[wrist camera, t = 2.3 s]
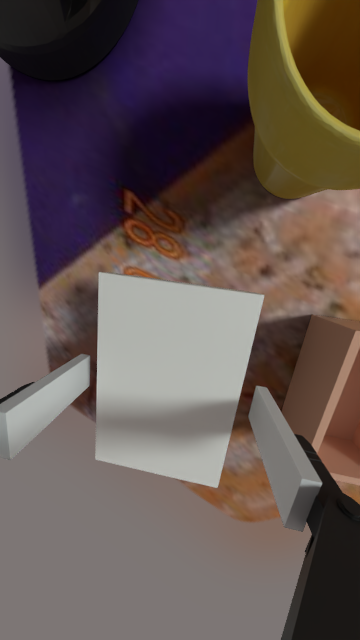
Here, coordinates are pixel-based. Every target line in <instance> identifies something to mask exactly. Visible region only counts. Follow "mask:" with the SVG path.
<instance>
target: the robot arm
mask: <svg viewBox="0 0 360 640" xmlns="http://www.w3.org/2000/svg"><path fill="white" fill-rule="evenodd" d="M137 3H138V0H0V57H1V58H2V59H3V60H4V61H5V62H6V63H8V64H9V65H10V66H12V67H13V68H15V69H16V70H18V71H20V72H22V73H24V74H26V75H28V76H31V77H34V78H38V79H43V80H63V79H68V78H71V77H74V76H77V75H79V74H82V73H84V72H85V71H87V70H89V69H90V68H92V67H93V66H95V65H96V64H97V63H98V62H100V61H101V60H102V59H103V58H104V57H105V56H106V55H107V54H108V53H109V52H110V51H111V49H112V48H113V47H114V46H115V44H116V43H117V42H118V40H119V39H120V37H121V36H122V34H123V32H124V31H125V29H126V27H127V25H128V23H129V21H130V19H131V17H132V15H133V13H134V10H135V8H136V5H137ZM89 386H90V355H85V354H80V355H79V356H77V357H75V358H74V359H72V360H71V361H69V362H67V363H66V364H64V365H62V366H61V367H59V368H58V369H56V370H54V371H53V372H51V373H50V374H48V375H46V376H45V377H43V378H42V379H40V380H38V381H37V382H32V383H29V384H26V385H24V386H22V387H20V388H18V389H17V390H15V391H14V392H12V393H10V394H8V395H7V396H5V397H3V398H2V399H0V458H3V459H8V460H11V459H12V458H13V457H15V456H16V454H18V452H20V451H21V450H22V449H23V448H24V447H25V446H26V445H27V444H28V443H29V442H30V441H31V440H33V439H34V438H35V437H36V436H37V435H38V434H39V433H40V432H41V431H42V430H43V429H44V428H45V427H46V426H47V425H48V424H49V423H51V422H52V420H54V419H55V418H56V417H57V416H58V415H59V414H60V413H61V412H62V411H63V410H64V409H65V408H66V407H67V406H69V405H70V404H71V403H72V402H73V401H74V400H75V399H76V398H77V397H78V396H79V395H80V394H81V393H82V392H83V391H84V390H86V389H87V388H88V387H89ZM248 417H249V421H250V424H251V427H252V430H253V433H254V436H255V439H256V442H257V445H258V448H259V451H260V454H261V457H262V461H263V464H264V467H265V470H266V473H267V476H268V479H269V482H270V485H271V488H272V491H273V494H274V497H275V501H276V504H277V507H278V510H279V513H280V516H281V519H282V522H283V525H284V527H285V528H289V529H293V530H298V531H301V532H303V530H304V527H305V525H306V522H307V523H308V526H309V528H310V530H311V533H312V536H311V538H310V540H309V543H308V545H307V548H306V550H305V552H306V555H305V558H304V561H303V565H302V569H301V572H300V575H299V579H298V583H297V586H296V589H295V593H294V596H293V599H292V603H291V606H290V610H289V613H288V617H287V620H286V624H285V627H284V631H283V634H282V637H281V640H360V505H359V504H358V503H357V502H356V501H355V500H353V499H352V498H351V497H349V496H347V495H345V494H344V493H342V491H341V490H340V488H339V486H338V485H337V483H336V482H335V480H334V479H333V477H332V476H331V474H330V473H329V471H328V470H327V468H326V466H325V465H324V463H322V460H321V459H320V457H319V456H318V455H317V453H316V451H315V450H314V448H313V446H312V445H311V444H310V443H309V442H308V441H307V440H306V439H305V438H304V437H303V436H302V435H298V434H294V433H293V432H292V430H291V428H290V426H289V425H288V423H287V421H286V420H285V418H284V416H283V414H282V413H281V411H280V409H279V408H278V406H277V404H276V402H275V401H274V399H273V397H272V396H271V394H270V392H269V390H268V389H267V387H261V386H256V389H255V392H254V396H253V400H252V404H251V408H250V412H249V416H248Z"/></svg>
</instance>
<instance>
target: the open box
mask: <svg viewBox="0 0 360 640" xmlns="http://www.w3.org/2000/svg"><path fill="white" fill-rule="evenodd" d="M281 413H282V414H283V416H284V418H285V420H286V421H287V423H288V425H289V426H290V428H291V430H292V432H293V433H294V434H298V435H302V436H303V437H304V438H305V439H306V440H307V441H308V442H309V443H310V444H311V445H312V446H313V448H314V450H315V451H316V453H317V455H318V456H319V457H320V459H321V460H322V463H324V465H325V466H326V468H327V470H328V471H329V473H330V474H331V476H332V477H333V479H334V480H338V481H342V482H347V483H351V484H356V485H360V321H354V320H347V319H340V318H333V317H326V316H319V315H312V316H311V319H310V322H309V325H308V328H307V332H306V335H305V338H304V341H303V344H302V347H301V351H300V354H299V357H298V360H297V363H296V366H295V370H294V373H293V376H292V379H291V382H290V385H289V389H288V392H287V395H286V398H285V401H284V404H283V408H282V411H281Z"/></svg>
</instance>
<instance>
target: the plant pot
mask: <svg viewBox="0 0 360 640" xmlns="http://www.w3.org/2000/svg"><path fill="white" fill-rule="evenodd" d="M248 94H249V103H250V109H251V114H252V118H253V121H254V125H255V135H254V149H253V163H254V169H255V172H256V175H257V178H258V180H259V181H260V183H261V184H262V186H263V187H264V188H265V189H266V190H267V191H269V192H270V193H272V194H273V195H275V196H277V197H281V198H285V199H295V198H301V197H305V196H308V195H311V194H314V193H317V192H320V191H323V190H326V189H332V190H352V189H360V0H258V2H257V8H256V13H255V19H254V25H253V31H252V38H251V44H250V52H249V62H248Z"/></svg>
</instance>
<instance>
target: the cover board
mask: <svg viewBox="0 0 360 640" xmlns="http://www.w3.org/2000/svg"><path fill="white" fill-rule="evenodd" d="M263 299H264V295H262V294H259V293H255V292H248V291H241V290H234V289H226V288H219V287H212V286H205V285H197V284H190V283H183V282H176V281H168V280H161V279H154V278H147V277H140V276H132V275H125V274H118V273H111V272H99V289H98V345H97V401H96V458H95V459H96V460H100V461H104V462H109V463H113V464H117V465H121V466H126V467H130V468H134V469H139V470H143V471H148V472H151V473H156V474H160V475H164V476H168V477H173V478H177V479H181V480H186V481H190V482H194V483H198V484H203V485H207V486H211V487H215V488H218V484H219V480H220V476H221V472H222V468H223V464H224V459H225V455H226V451H227V447H228V443H229V439H230V435H231V431H232V427H233V423H234V418H235V414H236V410H237V406H238V402H239V398H240V394H241V390H242V386H243V381H244V377H245V373H246V369H247V365H248V361H249V357H250V353H251V349H252V344H253V340H254V336H255V332H256V328H257V324H258V320H259V316H260V312H261V307H262V303H263Z"/></svg>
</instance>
